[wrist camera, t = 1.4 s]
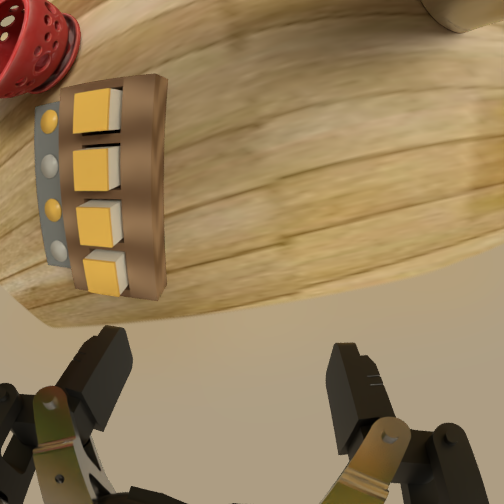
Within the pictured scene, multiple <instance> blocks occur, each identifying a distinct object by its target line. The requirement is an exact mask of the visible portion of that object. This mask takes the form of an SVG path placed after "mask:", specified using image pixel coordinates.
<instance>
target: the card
mask: <svg viewBox="0 0 504 504" xmlns="http://www.w3.org/2000/svg"><path fill="white" fill-rule="evenodd" d="M59 106H60V101H58V102H54V103H49V104H45V105H41V106H37V107H35V130H34V145H35V172H36V186H37V197H38V206H39V214H40V222H41V228H42V235H43V241H44V246H45V252H46V257H47V262H48V265H53V266H60V267H67V268H71V265H70V259H69V254H68V248H67V241H66V235H65V228H64V220H63V211H62V201H61V189H60V174H59Z"/></svg>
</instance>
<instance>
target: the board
mask: <svg viewBox="0 0 504 504" xmlns="http://www.w3.org/2000/svg"><path fill="white" fill-rule="evenodd" d="M167 86H168V79H166V78H164V77H162V76H160V75H157V74H146V75H136V76H128V77H120V78H113V79H107V80H101V81H95V82H89V83H84V84H79V85H74V86H70V87H65V88H61V91H60V106H59V174H60V189H61V201H62V211H63V220H64V228H65V235H66V241H67V248H68V254H69V259H70V265H71V270H72V275H73V280H74V284H75V288H76V289H81V290H87V291H89V290H88V286H87V281H86V275H85V270H84V264H83V259H84V258H85V257H87V256H88V255H89V254H90V253H91V252H92V251H94V250H95V249H102V250H113V251H123V252H125V255H126V264H127V272H128V280H129V284H128V286H127V287H126V288H125V290H124V291H123V292H122V293H121V295H120V296H125V297H132V298H139V299H146V300H154V301H158V299H159V297H160V296H161V294H162V292H163V290H164V289H165V287H166V285H167V279H166V262H165V241H164V196H163V180H164V136H165V115H166V99H167ZM106 88H111V89H116V90H121V91H123V95H122V111H121V133H111V134H100V131H95V132H84V133H75V134H73V113H74V96H75V94H76V93H82V92H87V91H93V90H99V89H106ZM106 143H120V173H121V185H119V186H117V187H115V188H113V189H111V190H108V191H75V190H74V171H73V151H75V150H81V149H86V148H91V147H100V144H106ZM92 199H121V203H122V220H123V233H124V238H122V239H121V240H120V241H119V242H118V243H117V244H116V245H114V246H113V247H112V248H110V247H99V246H88V245H80V238H79V231H78V222H77V213H76V207H78V206H80V205H82V204H84V203H86V202H88V201H90V200H92Z"/></svg>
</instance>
